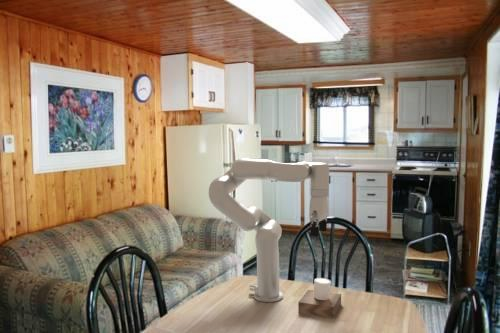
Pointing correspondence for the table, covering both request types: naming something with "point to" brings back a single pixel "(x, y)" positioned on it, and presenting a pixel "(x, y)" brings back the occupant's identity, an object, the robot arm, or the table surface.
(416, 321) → the table surface
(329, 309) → the walnut block
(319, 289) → the shot glass
